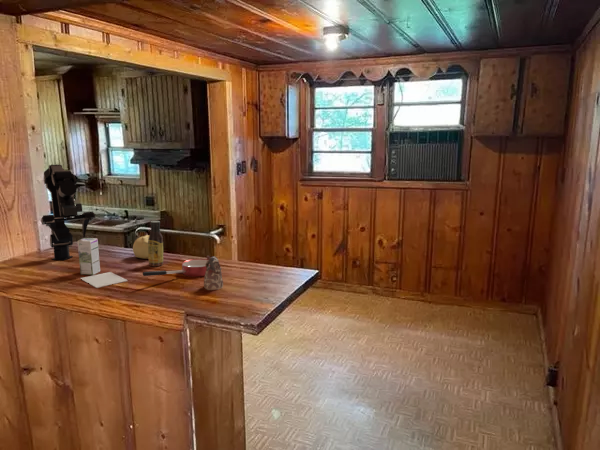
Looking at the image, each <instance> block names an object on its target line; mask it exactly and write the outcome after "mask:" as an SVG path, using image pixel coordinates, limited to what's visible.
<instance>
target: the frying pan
mask: <svg viewBox="0 0 600 450" xmlns="http://www.w3.org/2000/svg"><path fill="white" fill-rule="evenodd" d="M207 261H208V259H207V258H193V259H187V260H185V261H183V262H182V263H181V269H180V270H179V269H178V270H152V271H143V272H142V275H143V277H147V276H148V277H150V276H163V275H168V274H169V275H170V274H171V275H172V274H183V276H186V277H189V278H190V277H191V278H194V277H195V278H199V277H201V278H202V277H205V272H206V270H207V268H206V262H207ZM209 266H210V264H209Z"/></svg>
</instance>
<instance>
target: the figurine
mask: <svg viewBox="0 0 600 450" xmlns="http://www.w3.org/2000/svg"><path fill="white" fill-rule="evenodd" d="M206 259H208V261H207V262H206V268H207V270H206V272H205V276H204V277H203V278H204V280H203V287H204V289H205V290H207V291H214V290H218V291H219V290H221V289H223V287H224V280H223V276H222V267H221V265H220V262H219V261H220V260H219V259H218V257H216V256H210V255H207V256H206ZM209 264H210V266H209Z"/></svg>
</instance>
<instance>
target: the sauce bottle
mask: <svg viewBox="0 0 600 450" xmlns="http://www.w3.org/2000/svg"><path fill="white" fill-rule="evenodd" d="M160 226H161V221H160V220H151V221H150V233H149V239H148V257H149V259H148V264H149V266H150V267H160V266H163V264H164V241H163V240H164V239H163V238H164V237H163V234H162V233H161V227H160Z"/></svg>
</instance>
